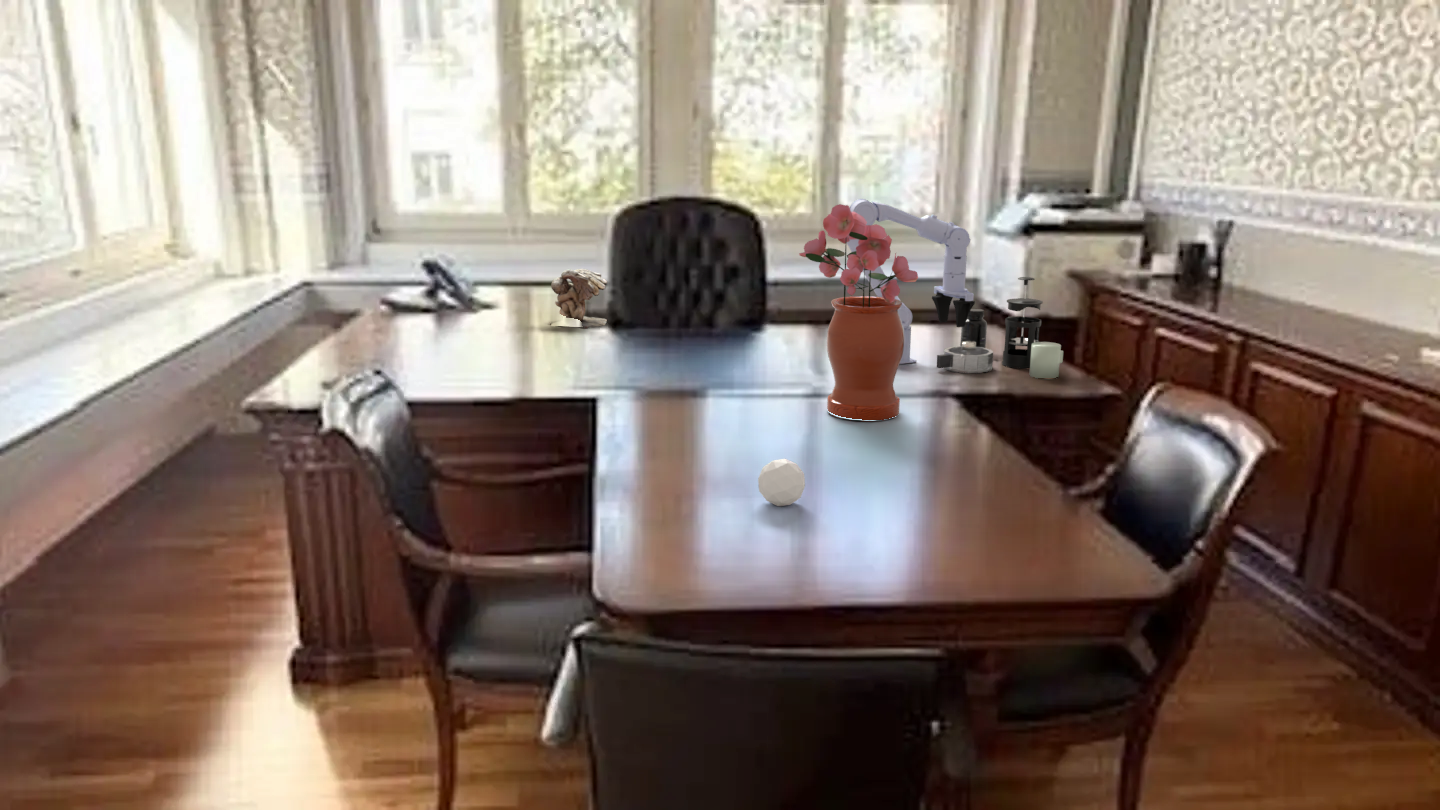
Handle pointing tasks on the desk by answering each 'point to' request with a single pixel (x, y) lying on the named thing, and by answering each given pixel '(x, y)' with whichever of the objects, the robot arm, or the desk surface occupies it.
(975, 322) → the supplement bottle
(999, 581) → the desk surface
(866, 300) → the potted flower
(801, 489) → the geometric ball
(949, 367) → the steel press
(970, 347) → the plunger
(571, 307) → the cherub figurine
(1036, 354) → the sage mug
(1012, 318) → the french press
